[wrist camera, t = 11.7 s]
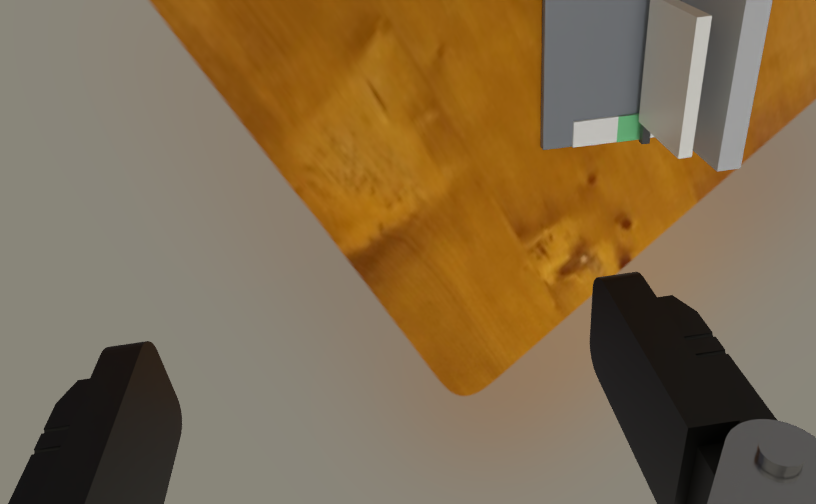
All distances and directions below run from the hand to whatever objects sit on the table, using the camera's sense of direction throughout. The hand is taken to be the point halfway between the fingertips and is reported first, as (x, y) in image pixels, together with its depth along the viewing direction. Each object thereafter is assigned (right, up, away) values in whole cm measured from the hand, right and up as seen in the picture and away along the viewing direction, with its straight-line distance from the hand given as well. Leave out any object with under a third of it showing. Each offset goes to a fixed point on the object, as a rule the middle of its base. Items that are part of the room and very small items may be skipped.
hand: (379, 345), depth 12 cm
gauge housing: (+14, +14, +30) cm, 36 cm away
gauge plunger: (+16, +13, +30) cm, 36 cm away
